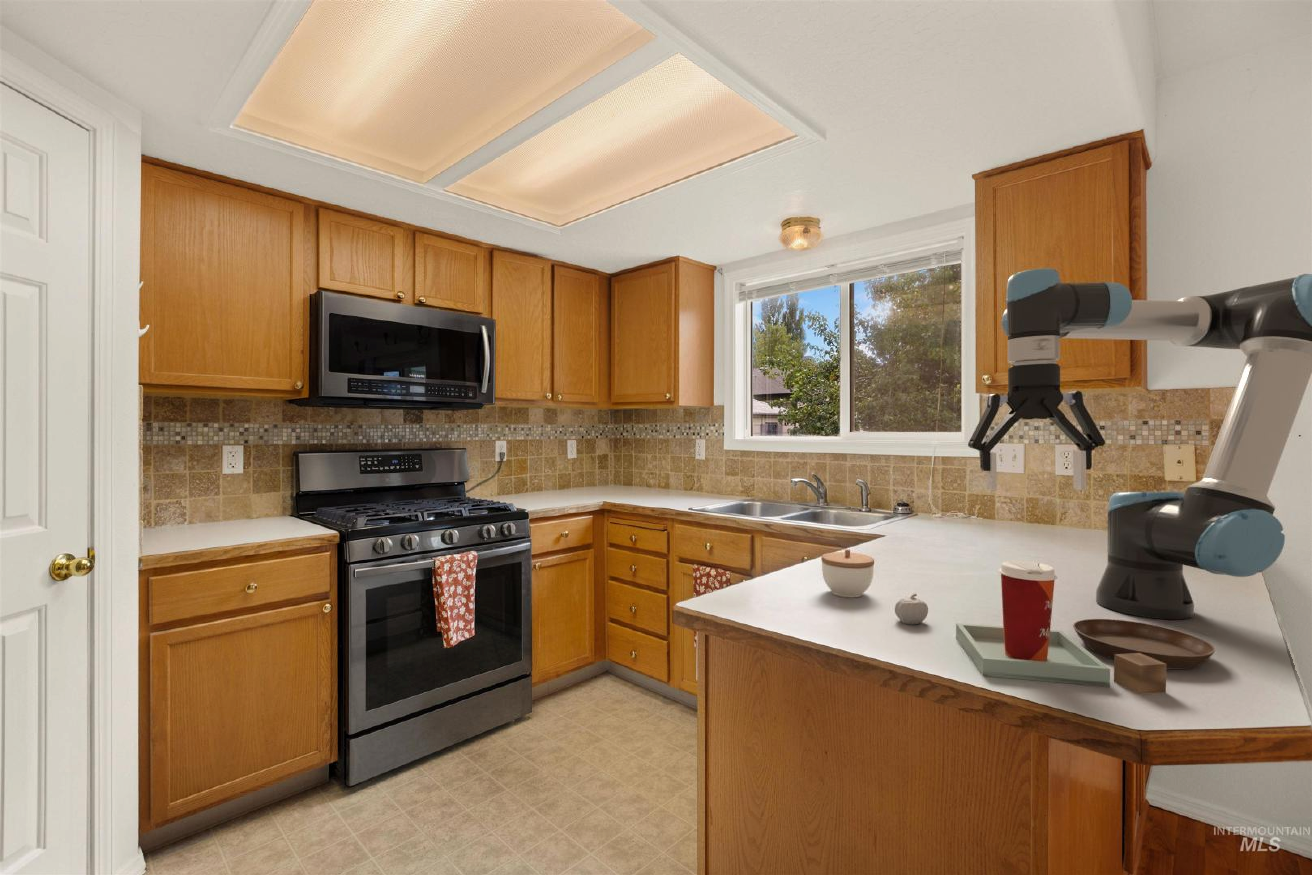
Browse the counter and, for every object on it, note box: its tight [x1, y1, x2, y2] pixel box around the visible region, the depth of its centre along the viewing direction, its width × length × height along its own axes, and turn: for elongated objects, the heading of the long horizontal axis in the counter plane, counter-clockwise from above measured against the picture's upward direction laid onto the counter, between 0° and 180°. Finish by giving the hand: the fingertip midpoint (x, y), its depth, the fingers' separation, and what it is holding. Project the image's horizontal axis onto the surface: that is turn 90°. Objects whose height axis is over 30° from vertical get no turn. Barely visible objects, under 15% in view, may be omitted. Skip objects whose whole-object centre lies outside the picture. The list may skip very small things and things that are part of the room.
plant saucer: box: [1072, 618, 1216, 670], centre depth 98 cm, size 18×18×3 cm
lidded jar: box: [820, 548, 875, 598], centre depth 131 cm, size 11×11×9 cm
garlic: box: [894, 593, 929, 625], centre depth 113 cm, size 6×5×5 cm
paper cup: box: [998, 560, 1058, 662], centre depth 95 cm, size 8×8×14 cm
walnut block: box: [1113, 653, 1167, 695], centre depth 85 cm, size 4×4×4 cm
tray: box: [955, 622, 1111, 688], centre depth 95 cm, size 16×16×2 cm
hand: (1035, 490), depth 105 cm, fingers open, 13 cm apart
